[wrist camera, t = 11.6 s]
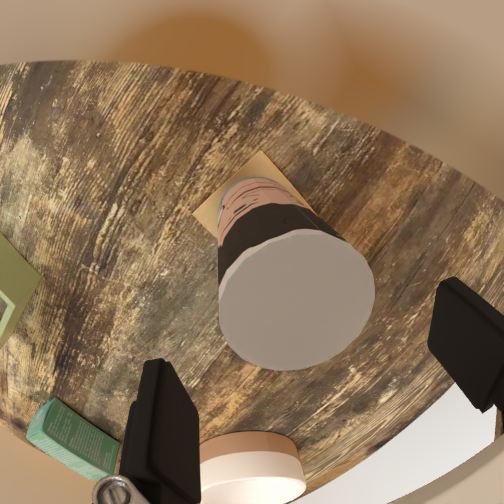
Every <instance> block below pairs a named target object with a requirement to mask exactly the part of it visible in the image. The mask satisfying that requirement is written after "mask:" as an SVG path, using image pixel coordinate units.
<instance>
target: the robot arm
mask: <svg viewBox="0 0 504 504" xmlns="http://www.w3.org/2000/svg"><path fill="white" fill-rule="evenodd" d="M427 344H428V348H429V350H430V351H431V353H432V354H433V355H434V356H435V357H436V359H437V360H438V361H439V362H440V364H441V365H442V366H443V367H444V369H445V370H446V371H447V372H448V374H449V375H450V376H451V377H452V379H453V380H454V381H455V382H456V384H457V385H458V386H459V388H460V389H461V390H462V391H463V393H464V394H465V395H466V397H467V398H468V399H469V401H470V402H471V403H472V405H473V406H474V407H475V408H476V409H480V411H481V412H482V413H484V412H485V411H487V410H488V409H490V408H491V407H492V406H493V405H494V404H495V406H496V407H497V415H496V428H495V439H494V442H492V443H491V444H490V445H489V446H487V447H486V448H484V449H483V450H482V451H480V452H479V453H477V454H476V455H475V456H473V457H471V458H470V459H469V460H467V461H466V462H464V463H462V464H461V465H459V466H458V467H456V468H455V469H453V470H451V471H450V472H448V473H447V474H445V475H443V476H441V477H439V478H438V479H436V480H434V481H432V482H431V483H429V484H427V485H425V486H423V487H421V488H419V489H417V490H415V491H413V492H412V493H409V494H408V495H405V496H403V497H401V498H399V499H396V500H394V501H392V502H390V503H387V504H504V316H503V315H502V314H501V313H500V312H499V311H498V310H496V309H495V308H494V307H493V306H492V305H490V304H489V303H488V302H487V301H486V300H484V299H483V298H482V297H481V296H479V295H478V294H477V293H476V292H474V291H473V290H472V289H471V288H469V287H468V286H467V285H466V284H464V283H463V282H462V281H460V280H459V279H458V278H456V277H450V278H448V279H445V280H443V281H441V282H440V283H439V286H438V287H437V290H436V296H435V303H434V309H433V315H432V321H431V326H430V331H429V336H428V341H427ZM92 501H93V503H92V504H197V503H200V502H201V478H200V443H199V415H198V411H197V409H196V407H195V405H194V404H193V402H192V400H191V399H190V397H189V395H188V393H187V392H186V390H185V388H184V386H183V384H182V383H181V381H180V379H179V377H178V375H177V374H176V372H175V370H174V368H173V366H172V364H171V363H170V362H165V360H164V359H163V358H159V359H153V360H147V361H145V363H144V367H143V371H142V376H141V381H140V385H139V390H138V395H137V401H134V402H133V403H132V404H131V407H130V411H129V416H128V421H127V426H126V432H125V438H124V443H123V449H122V456H121V462H120V469H119V475H117V474H112V475H107V476H105V477H103V478H101V479H100V480H99V481H98V482H97V483H96V485H95V486H94V488H93V492H92Z"/></svg>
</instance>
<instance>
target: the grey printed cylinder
mask: <svg viewBox="0 0 504 504" xmlns="http://www.w3.org/2000/svg"><path fill="white" fill-rule="evenodd" d="M218 282H219V319H220V328H221V330H222V332H223V334H224V337H225V339H226V341H227V343H228V345H229V346H230V347H231V348H232V349H233V350H234V351H235V352H236V353H237V354H238V355H239V356H240V357H241V358H242V359H244V360H246V361H248V362H250V363H252V364H255V365H257V366H259V367H261V368H267V369H273V370H279V371H286V370H297V369H305V368H308V367H311V366H314V365H317V364H320V363H323V362H325V361H327V360H328V359H330V358H332V357H333V356H335V355H337V354H338V353H340V352H341V351H343V350H344V349H345V348H346V347H347V346H348V345H349V344H350V343H351V342H352V341H353V340H354V339H355V338H356V337H357V336H358V335H359V334H360V332H361V331H362V329H363V327H364V326H365V324H366V322H367V321H368V319H369V317H370V314H371V310H372V307H373V303H374V299H375V288H374V276H373V274H372V272H371V270H370V268H369V266H368V264H367V262H366V260H365V258H364V256H362V255H361V254H360V253H359V252H358V251H357V250H356V249H355V248H354V247H353V246H351V245H350V244H349V243H348V242H347V241H346V240H345V239H344V238H342V237H341V236H340V235H339V234H338V233H337V232H336V231H335V230H333V229H332V228H331V227H330V226H329V225H328V224H327V223H325V222H324V221H323V220H322V219H321V218H320V217H318V216H317V215H316V214H315V213H314V212H313V211H311V210H310V209H309V208H308V207H307V206H305V205H304V204H303V203H302V202H301V201H299V200H298V199H297V198H296V197H295V196H293V195H292V194H291V193H290V192H289V191H287V190H286V189H285V188H284V187H282V186H281V185H280V184H278V183H277V182H276V181H273V180H271V179H268V178H265V177H250V178H246V179H243V180H240V181H238V182H237V183H235V184H234V185H232V186H231V187H230V188H229V189H228V190H227V191H226V193H225V194H224V195H223V197H222V198H221V201H220V204H219V207H218Z"/></svg>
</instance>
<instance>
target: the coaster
mask: <svg viewBox="0 0 504 504" xmlns="http://www.w3.org/2000/svg"><path fill="white" fill-rule="evenodd" d="M250 177H265V178H268V179H271V180H273V181H276V182H277V183H278V184H280V185H281V186H282V187H284V188H285V189H286V190H287V191H289V192H290V193H291V194H292V195H293V196H295V197H296V198H297V199H298V200H299V201H301V202H302V203H303V204H304V205H305V206H307V207H308V208H309V209H310V210H311V211H313V212H314V210H313V209H312V208H311V207H310V206H309V204H308V203H307V202H306V201H305V200H304V198H303V197H302V196H301V195H300V194H299V193H298V191H297V190H296V189H295V188H294V187H293V185H292V184H291V183H290V182H289V181H288V180H287V178H286V177H285V176H284V175H283V174H282V173H281V172H280V170H279V169H278V168H277V167H276V166H275V165H274V164H273V163H272V161H271V160H270V159H269V158H268V157H267V156H266V155H265V154H264V152H263V151H262V150H260V151H259V152H258V153H257V154H256V155H254V156H253V157H252V158H251V159H250V160H249V161H248V162H246V163H245V164H244V165H243V166H242V167H241V168H240V169H239V170H238V171H236V172H235V173H234V174H233V175H232V176H231V177H230V178H229V179H228V180H227V181H226V182H224V183H223V184H222V185H221V186H220V187H219V188H218V189H217V190H216V191H215V192H214V193H213V194H212V195H211V196H209V197H208V198H207V199H206V200H205V201H204V202H203V203H202V204H201V205H200V206H199V207H198V208H197V209H196V210H195V211H194V212H193V213H192V215H193V216H194V217H195V218H196V219H197V220H198V221H199V222H200V223H201V224H202V225H203V226H204V227H205V228H206V229H207V230H208V231H209V232H210V233H211V234H212V235H213V236H214V237H215V238H216V239H218V207H219V204H220V201H221V198H222V197H223V195H224V194H225V193H226V191H227V190H228V189H229V188H230V187H231V186H232V185H234V184H235V183H237V182H238V181H240V180H243V179H246V178H250ZM314 213H315V212H314ZM315 214H316V213H315ZM316 215H317V214H316ZM317 216H318V215H317Z"/></svg>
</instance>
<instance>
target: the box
mask: <svg viewBox="0 0 504 504" xmlns="http://www.w3.org/2000/svg"><path fill="white" fill-rule="evenodd" d="M26 438H27V439H28V440H29V441H30V442H31V443H33V444H34V445H36V446H37V447H38V448H40V449H41V450H43V451H44V452H46V453H47V454H49V455H50V456H51V457H53V458H54V459H56V460H58V461H59V462H61V463H62V464H64V465H65V466H67V467H69V468H71V469H72V470H74V471H75V472H77V473H79V474H80V475H82V476H84V477H86V478H88V479H89V480H96V479H101V478H103V477H105V476H107V475H112V474H113V473H114V468H115V463H116V459H117V454H118V450H119V446H120V443H119V442H118V441H116V440H114V439H113V438H111V437H110V436H108V435H107V434H105V433H104V432H102V431H101V430H99V429H98V428H96V427H95V426H93V425H92V424H90V423H89V422H88V421H86V420H85V419H83V418H82V417H81V416H79V415H78V414H77V413H75V412H74V411H73V410H71V409H70V408H69V407H67V406H66V405H65V404H64V403H62V402H61V401H60V400H59V399H58V398H54V399H52V400H51V401H49V402H48V403H47V404H45V405H43V406H42V407H40V408H39V409H38V410H37V412H36V413H35V415H34V417H33V419H32V421H31V423H30V426H29V428H28V432H27V435H26Z"/></svg>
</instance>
